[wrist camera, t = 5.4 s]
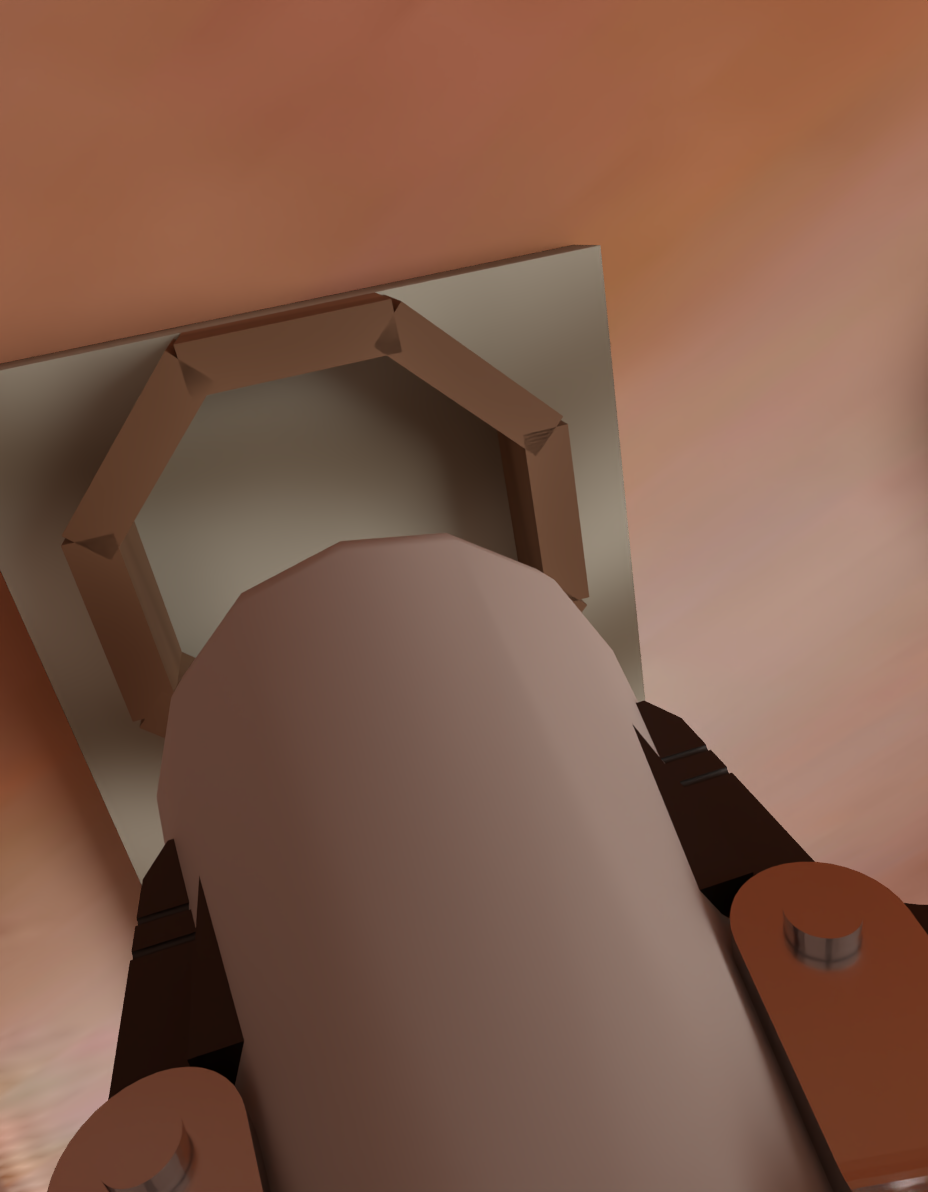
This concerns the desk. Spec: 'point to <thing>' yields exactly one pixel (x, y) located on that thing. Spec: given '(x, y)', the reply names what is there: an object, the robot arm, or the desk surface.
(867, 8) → the desk surface
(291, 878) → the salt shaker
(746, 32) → the desk surface
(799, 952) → the robot arm
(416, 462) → the peg board
